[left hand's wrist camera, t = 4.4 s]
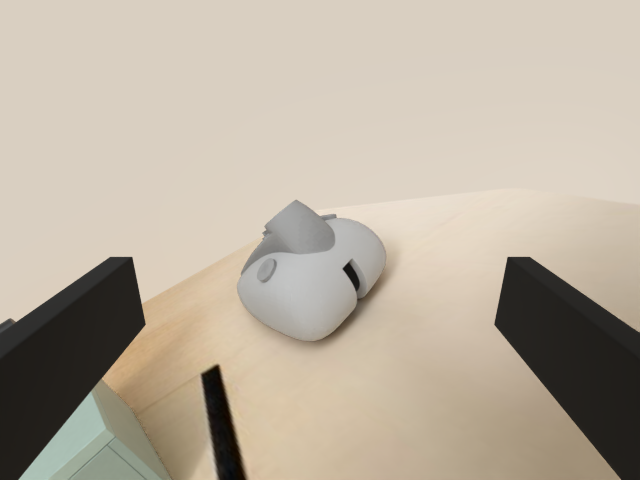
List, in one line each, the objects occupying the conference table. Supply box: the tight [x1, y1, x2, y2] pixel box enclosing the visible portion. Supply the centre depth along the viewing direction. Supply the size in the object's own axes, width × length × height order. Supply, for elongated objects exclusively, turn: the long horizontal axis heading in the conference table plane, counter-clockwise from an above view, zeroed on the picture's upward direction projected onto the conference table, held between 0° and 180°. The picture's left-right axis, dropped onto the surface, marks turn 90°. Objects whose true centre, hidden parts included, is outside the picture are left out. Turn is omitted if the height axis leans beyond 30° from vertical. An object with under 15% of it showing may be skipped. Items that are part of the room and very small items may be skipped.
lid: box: [0, 319, 115, 480], centre depth 29 cm, size 18×10×9 cm, turn 47°
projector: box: [237, 200, 386, 341], centre depth 45 cm, size 22×23×15 cm
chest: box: [68, 379, 172, 480], centre depth 33 cm, size 17×10×9 cm, turn 47°
